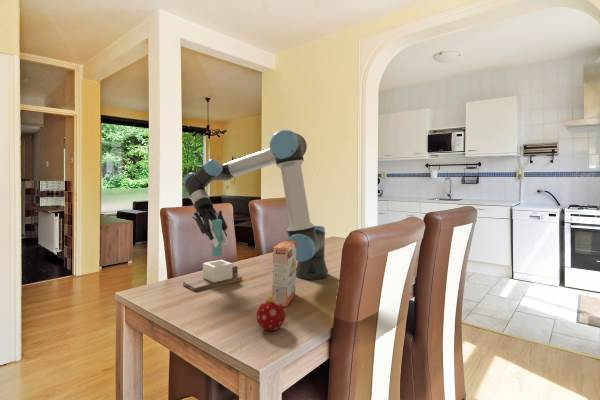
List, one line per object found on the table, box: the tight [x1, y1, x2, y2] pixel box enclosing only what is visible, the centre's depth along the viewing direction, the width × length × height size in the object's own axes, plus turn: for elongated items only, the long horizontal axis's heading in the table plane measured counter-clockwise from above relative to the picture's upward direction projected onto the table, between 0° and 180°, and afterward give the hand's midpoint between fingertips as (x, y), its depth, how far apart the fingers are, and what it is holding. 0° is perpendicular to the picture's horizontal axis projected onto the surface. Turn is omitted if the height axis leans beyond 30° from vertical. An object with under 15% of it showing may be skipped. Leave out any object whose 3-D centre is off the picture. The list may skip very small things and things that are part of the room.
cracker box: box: [271, 240, 297, 308], centre depth 125 cm, size 14×6×21 cm, turn 168°
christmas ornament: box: [255, 295, 286, 331], centre depth 102 cm, size 9×9×10 cm
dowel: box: [211, 220, 223, 257], centre depth 145 cm, size 4×4×15 cm
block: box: [202, 259, 234, 282], centre depth 146 cm, size 9×9×6 cm
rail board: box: [182, 264, 243, 293], centre depth 144 cm, size 10×22×6 cm, turn 134°
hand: (221, 244), depth 142 cm, fingers closed on dowel, 4 cm apart
